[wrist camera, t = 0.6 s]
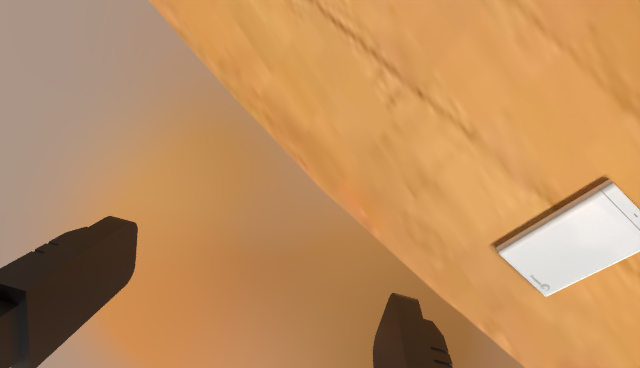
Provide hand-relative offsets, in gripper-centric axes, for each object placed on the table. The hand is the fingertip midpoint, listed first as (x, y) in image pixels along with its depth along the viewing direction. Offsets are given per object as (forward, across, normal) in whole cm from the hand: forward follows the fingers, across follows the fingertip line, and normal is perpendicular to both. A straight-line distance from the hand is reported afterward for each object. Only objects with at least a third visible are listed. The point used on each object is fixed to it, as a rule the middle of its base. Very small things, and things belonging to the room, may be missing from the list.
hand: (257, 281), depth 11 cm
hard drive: (+27, -28, +4) cm, 39 cm away
